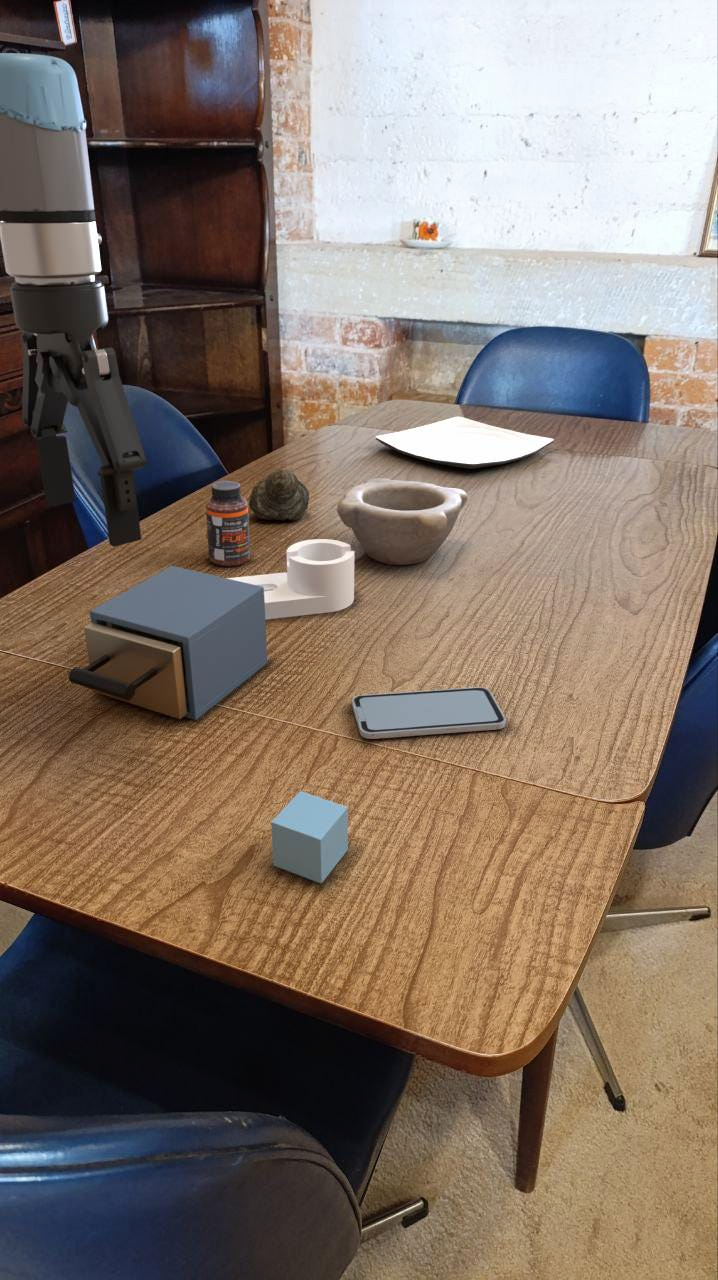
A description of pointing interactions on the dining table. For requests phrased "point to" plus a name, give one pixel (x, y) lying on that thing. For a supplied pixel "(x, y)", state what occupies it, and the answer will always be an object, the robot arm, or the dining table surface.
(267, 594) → the bracket
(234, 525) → the supplement bottle
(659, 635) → the dining table surface
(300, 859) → the cube
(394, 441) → the plate
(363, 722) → the smartphone
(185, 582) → the compartment
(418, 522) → the mortar
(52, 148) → the robot arm
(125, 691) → the drawer
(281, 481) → the seashell
